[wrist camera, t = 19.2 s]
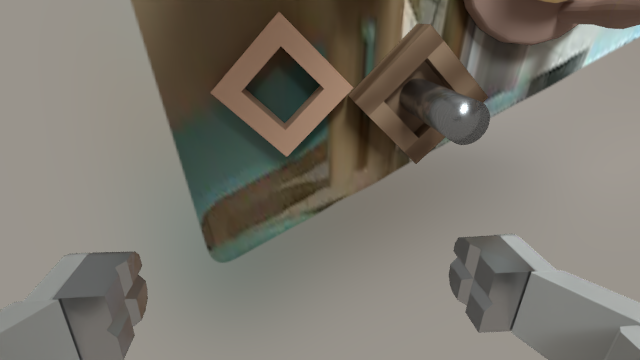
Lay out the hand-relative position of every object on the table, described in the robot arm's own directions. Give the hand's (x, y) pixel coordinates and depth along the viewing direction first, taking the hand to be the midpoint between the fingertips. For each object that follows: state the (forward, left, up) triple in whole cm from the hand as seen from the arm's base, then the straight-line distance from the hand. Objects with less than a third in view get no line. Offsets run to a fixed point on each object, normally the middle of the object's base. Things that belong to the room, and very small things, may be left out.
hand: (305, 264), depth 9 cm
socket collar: (+1, -1, -35) cm, 35 cm away
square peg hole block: (+13, +9, -35) cm, 38 cm away
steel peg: (+13, +9, -33) cm, 37 cm away
